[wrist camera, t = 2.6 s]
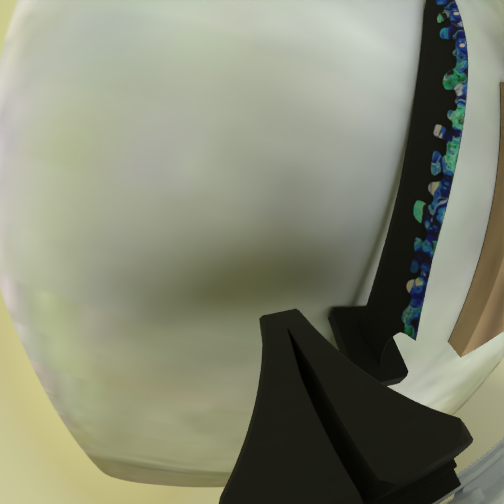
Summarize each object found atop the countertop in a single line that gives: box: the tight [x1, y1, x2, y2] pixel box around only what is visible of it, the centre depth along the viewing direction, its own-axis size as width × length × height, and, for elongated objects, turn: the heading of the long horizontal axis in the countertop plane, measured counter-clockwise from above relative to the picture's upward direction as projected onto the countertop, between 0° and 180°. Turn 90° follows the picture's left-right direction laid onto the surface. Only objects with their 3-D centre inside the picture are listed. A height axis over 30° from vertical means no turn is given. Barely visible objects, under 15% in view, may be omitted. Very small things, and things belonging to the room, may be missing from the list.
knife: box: [328, 0, 468, 386], centre depth 12 cm, size 31×3×4 cm, turn 167°
